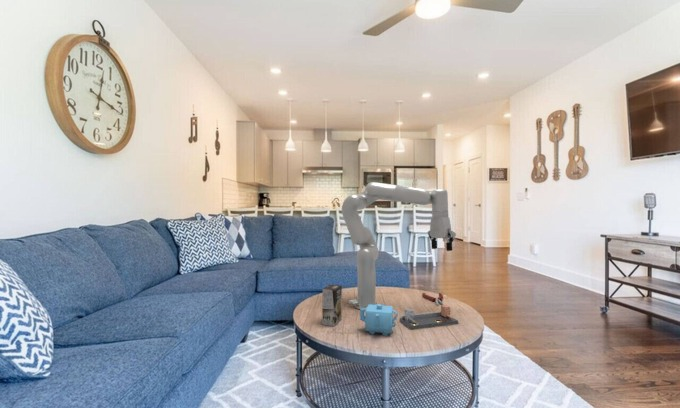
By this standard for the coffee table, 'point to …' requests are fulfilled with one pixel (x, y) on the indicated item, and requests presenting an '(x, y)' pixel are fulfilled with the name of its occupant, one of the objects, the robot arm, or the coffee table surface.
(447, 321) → the plate
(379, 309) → the teapot
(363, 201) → the robot arm
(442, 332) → the coffee table surface
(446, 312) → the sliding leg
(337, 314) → the coffee box
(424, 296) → the pliers
